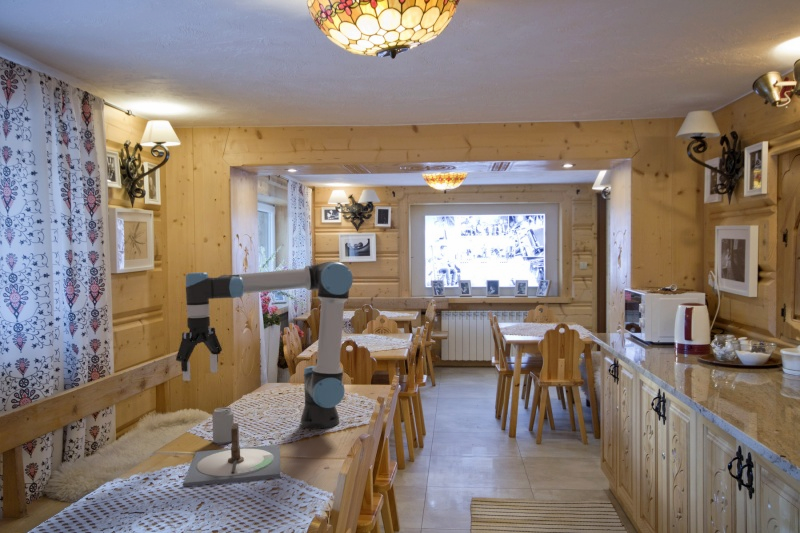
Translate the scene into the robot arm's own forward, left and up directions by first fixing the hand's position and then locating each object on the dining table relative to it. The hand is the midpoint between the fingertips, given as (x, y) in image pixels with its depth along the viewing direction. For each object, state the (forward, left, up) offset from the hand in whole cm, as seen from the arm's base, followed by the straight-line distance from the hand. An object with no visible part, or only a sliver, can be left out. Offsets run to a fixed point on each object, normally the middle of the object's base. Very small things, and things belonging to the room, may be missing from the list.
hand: (200, 376), depth 212 cm
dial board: (-13, +21, -26) cm, 36 cm away
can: (-7, -5, -26) cm, 27 cm away
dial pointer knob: (-13, +26, -24) cm, 38 cm away
